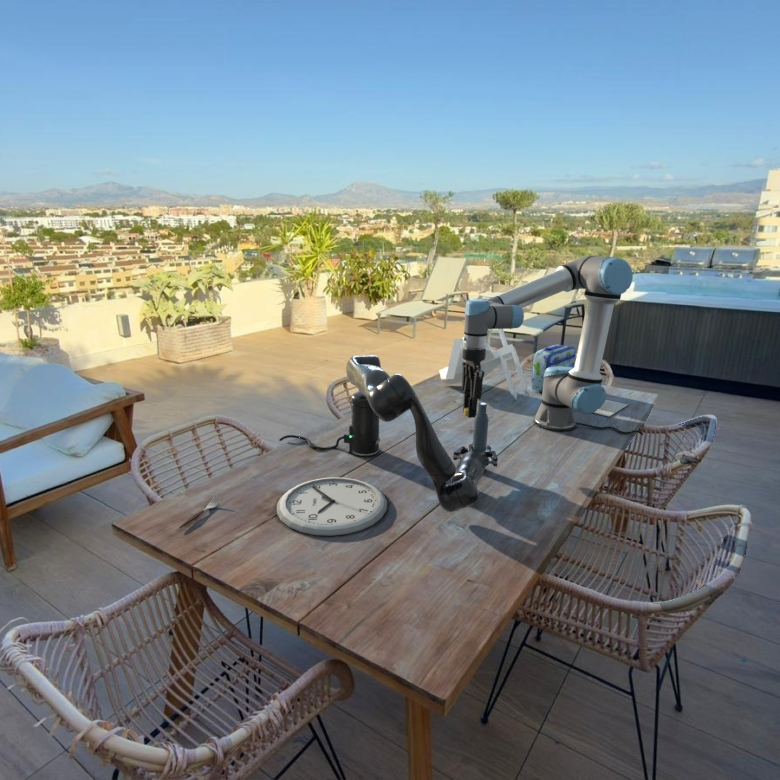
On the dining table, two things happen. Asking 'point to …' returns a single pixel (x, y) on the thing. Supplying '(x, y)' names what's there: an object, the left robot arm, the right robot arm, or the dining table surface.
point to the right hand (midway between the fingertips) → (469, 414)
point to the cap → (466, 411)
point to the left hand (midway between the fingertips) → (480, 446)
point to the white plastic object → (485, 364)
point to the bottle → (480, 429)
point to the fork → (209, 506)
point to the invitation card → (610, 408)
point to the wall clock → (331, 506)
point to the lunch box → (550, 362)
